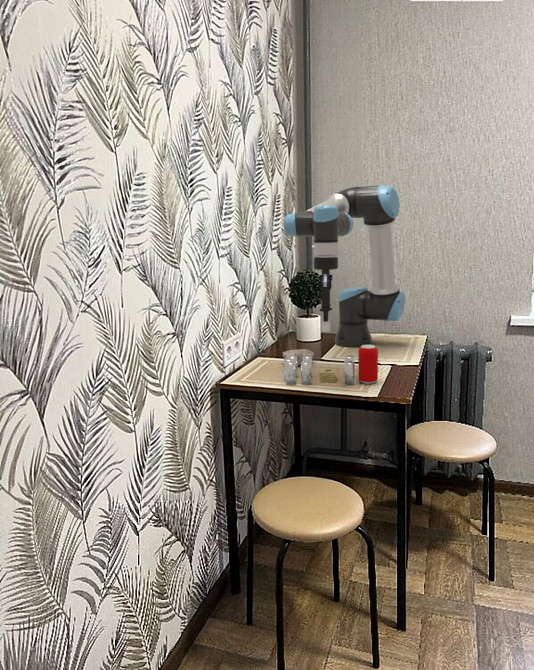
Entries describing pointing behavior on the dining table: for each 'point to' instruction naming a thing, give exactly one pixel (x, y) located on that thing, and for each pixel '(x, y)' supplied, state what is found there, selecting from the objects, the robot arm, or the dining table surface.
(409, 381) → the dining table surface
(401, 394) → the dining table surface
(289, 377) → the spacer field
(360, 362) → the beverage can
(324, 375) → the nut
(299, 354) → the rock
